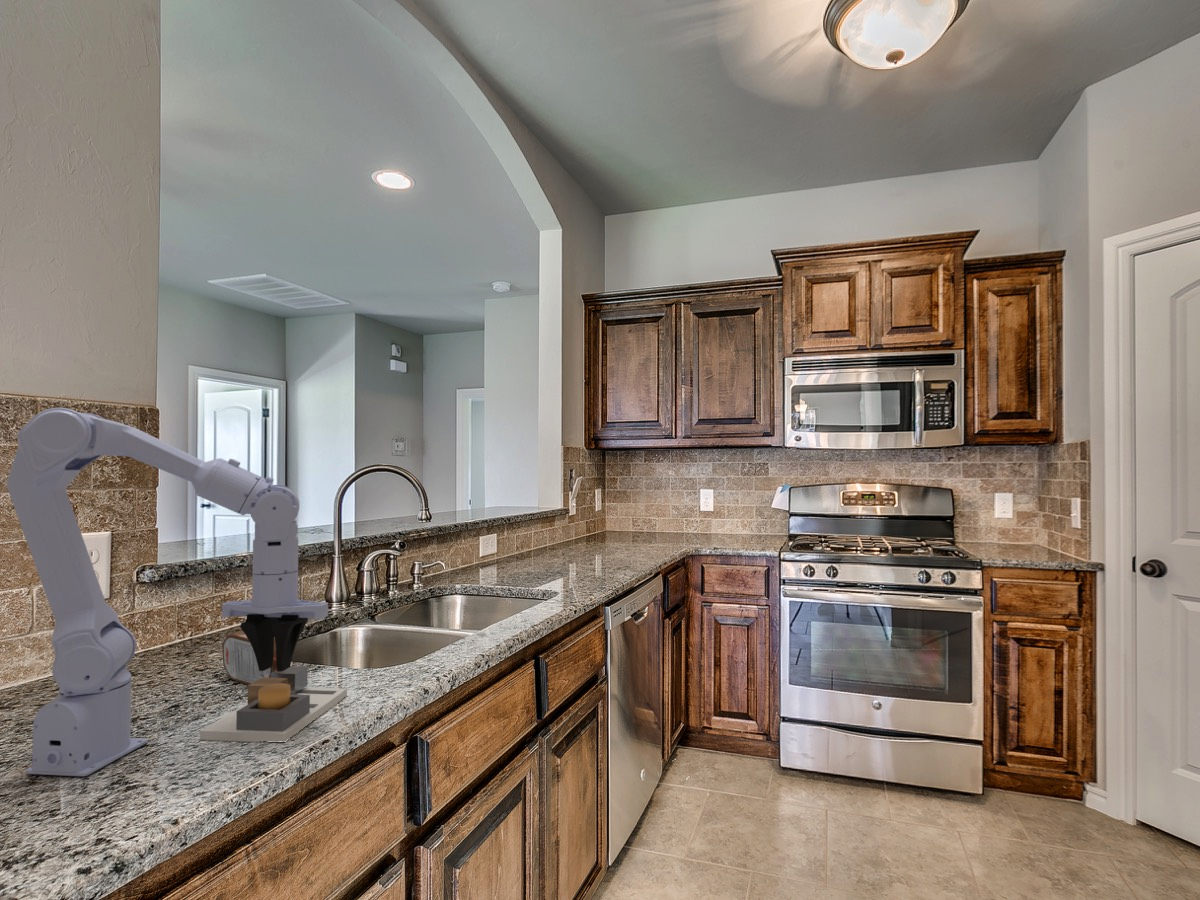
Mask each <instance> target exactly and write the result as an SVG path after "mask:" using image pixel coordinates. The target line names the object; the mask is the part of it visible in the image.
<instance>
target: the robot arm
mask: <svg viewBox="0 0 1200 900" xmlns="http://www.w3.org/2000/svg"><path fill="white" fill-rule="evenodd" d="M16 437H17V438H16V439H17V445H18V446H17V449H16V452H15V455H14V459H13V462H12V465H11V468H10V472H9V474H8V478H7V480H6V486H7V491H8V494H9V497H10V500H11V502H12V503H11V504H13V505H12V506H13V508H14V510H15V512H16V513H15V514H16V516H17V519H18V522H19V524H20V527H21V529H22V530H21V531H22V533H23V536H24V538H25V541H26V544H27V546H28V549H29V552H30V554H31V557H32V560H33V562H34V563H33V564H34V565H35V569H36V571H37V575H38V576H39V580H40V582H41V585H42V587H43V591H44V593H45V597H46V599H47V601H48V604H49V607H50V609H51V613H52V615H53V618H54V620H55V623H54V627H53V632H52V636H51V645H52V648H53V652H54V659H53V663H52V669H51V674H52V678H53V680H54V682H55V683H56V684H57V686H59V688H58V690H59V691H58V694H57V695H56V696H55V697H54V699H53V700H52V701H50V702H48V703H47V704H45V705H43V706H42V707H40V708H39V710H38V711H37V713H36V714H35V716H34V719H33V723H32V753H31V754H32V758H31V759H32V762H31V764H32V765H31V766H30V767H28V768H26V770H25V774H28V775H45V776H46V775H47V776H68V777H86V776H89V775H91V774H93V773H94V772H96V771H98V770H100V769H102V768H103V767H106V766H107V765H109V764H110V763H113V762H115V761H116V760H118V759H119V758H122V757H124V756H126V755H127V754H129V753H131V752H132V751H134V750H137V749H139V748H140V747H142V746H144V745H145V744H147V743H148V741H149V740H148V738H144V737H143V738H142V737H138V738H137V737H131V732H132V731H131V728H132V726H131V723H132V721H131V719H132V718H131V716H132V714H131V713H132V712H131V711H132V674H131V673H130V671H129V670H128V668H127V664H128V663H129V662H130V661H131V660H132V658H133V657H134V655H135V653H136V649H137V640H136V638H135V636H134V633H132V631H130V629H128V628H127V627H125V626H124V625H123V623H122V622H121V620H120V618H119V616H118V613H117V612H116V611H115V610H114V609H113V608H112V607H111V606H110V605H109V604H108V603H107V602H106V599H105V597H104V594H103V591H102V587H101V585H100V582H99V580H98V577H97V574H96V571H95V568H94V565H93V563H92V560H91V557H90V554H89V552H88V548H87V546H86V543H85V539H84V537H83V534H82V532H81V529H80V525H79V524H78V520H77V518H76V515H75V512H74V509H73V507H72V504H71V501H70V498H69V496H68V495H69V494H68V492H67V488H68V487H69V485H70V484H71V483H72V482H73V481H74V479H75V478H76V477H77V476H78V475H79V473H81V471H82V469H84V468H85V467H87V466H88V465H90V464H91V463H93V462H94V461H96V460H98V459H100V458H101V457H102V456H108V457H110V456H113V457H114V456H115V457H116V456H117V457H121V456H122V457H128V458H129V457H130V458H132V459H134V460H137V461H139V462H141V463H144V464H147V465H149V466H151V467H154V468H156V469H157V470H158V469H159V470H160V471H164V472H167V473H168V474H171V475H173V476H176V477H178V478H181V479H182V480H183V479H184V480H186V481H187V482H190V483H191V484H192V486H193V489H194V492H195V494H196V496H197V497H200V498H201V499H204V500H206V501H209V502H212V503H213V504H216V505H218V506H220V507H223V508H225V509H228V510H230V511H232V512H235V513H236V514H239V515H241V516H246V515H250V517H251V519H252V521H253V522H254V539H253V540H252V583H251V584H252V585H251V586H252V589H251V591H252V592H251V593H252V596H251V598H252V599H249V600H247V599H246V600H230V601H227V602H223V603H222V604H221V605H222V606H221V618H231V617H244V618H245V617H246V618H245V621H242V622H241V623H240V629H241V630H242V631H243V632H244V633H245V635H246V636H247V638H248V640H249V641H250V643H251V646H252V648H253V651H254V653H255V657H256V660H257V664H258V667H259V671H265V670H266V669H268V668H270V667H272V665H273V658H274V638H275V643H276V667H277V671H280V672H282V671H284V670H286V669H288V668H289V667H290V666H291V664H292V659H293V655H294V652H295V648H296V646H297V643H298V640H299V638H300V636H301V634H302V632H303V630H304V628H305V626H306V624H307V623H308V621H309V619H314V620H323V619H324V618H327V617H329V602H323V601H321V602H320V601H313V600H305V599H299V537H298V535H297V534H298V531H299V528H298V524H297V523H298V522H297V520H296V518H297V517H298V515H299V511H300V499H299V497H298V496H297V494H296V493H295V492H294V491H293V490H292V489H290V488H289V487H287V486H286V485H285V484H273V482H274V478H273V477H271V476H266V477H265V478H264V477H262V476H260V475H259V474H256V473H254V472H251V471H249V470H247V469H245V468H244V467H243V468H242V467H240V465H241V462H240V461H239V460H237V459H234V458H229V459H228V461H227V460H225V459H224V458H216V459H212V460H208V461H204V460H203V459H199V458H197V457H196V456H194V455H192V454H190V453H188V452H186V451H183V450H181V449H179V448H178V447H175V446H173V445H172V444H169V443H167V442H165V441H163V440H161V439H159V438H158V437H154V436H153V435H151V434H149V433H146V432H145V431H142V430H141V429H138V428H137V427H134V426H131V425H127V424H124V423H121V422H117V421H114V420H111V419H105V418H104V417H102V416H100V415H98V414H95V413H92V412H79V411H76V410H73V409H71V408H66V407H52V408H48V409H44V410H42V411H39V413H37V414H36V415H34V416H33V417H32V418H31V419H30V420H28V422H27V423H26V424H25V425H24V426H23V427H22V428H21V429H20V430H19V431H18V432H17V434H16ZM279 618H280V619H279Z"/></svg>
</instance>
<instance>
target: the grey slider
mask: <svg viewBox="0 0 1200 900" xmlns="http://www.w3.org/2000/svg"><path fill="white" fill-rule="evenodd" d="M271 678H288V684H289V685H290V693H296V692H298V691H299V690H301V689H303V688H304V687H308V666H303V665H302V666H299V665H298V666H296V665H293V666H291V665H290V667H289V668H288V669H286V670H284V671H282V672H280V671H277V670H276V671H274V672H272V673H271Z"/></svg>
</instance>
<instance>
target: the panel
mask: <svg viewBox="0 0 1200 900" xmlns="http://www.w3.org/2000/svg"><path fill="white" fill-rule="evenodd" d="M346 696H348V688H338V687H337V688H336V687H335V688H334V687H333V688H332V687H311V686H310V687H308V686H306V687H304V688H303V689H301V690H299V691H298V692H296V693H290V704H288V705H287V706H285V707H284V708H282V709H281V710H274V709H258V699H256V700H255V701H253V702H251V703H250V704H248V702H246V703H245V704H243V705H241V706H240V707H238V708H237V709H235V710H233V711H231V712H229V713H228V714H226V715H225V716H222V717H221V718H220V719H218V720H216V721H214V722H213V723H210V724H209V725H207V726H206V727H204V728H202V729H201V730H199V741H217V742H218V741H221V742H222V741H223V742H224V741H225V742H247V743H264V742H263V741H277V742H278V741H283V742H284V741H286V740H287V739H289V738H290V737H292V736H293V735H294V734H296V733H297V732H299V731H300V730H301V729H302V728H304V727H305V726H307V725H308V724H309V723H311V722H312V721H313V720H315V719H316V718H317V719H319V718H320V717H321V716H323V715H324V714H325V713H326V711H327V712H328V711H329V710H331V709H332V708H333V707H335V706H336V705H337V704H339V703H340V702H342V699H343V698H344V697H345V698H347V697H346ZM345 698H344V699H345ZM344 699H343V700H344ZM339 701H340V702H339ZM338 702H339V703H338ZM334 705H335V706H334ZM330 708H331V709H330ZM323 713H324V714H323ZM322 714H323V715H322ZM320 715H321V716H320ZM319 716H320V717H319ZM318 717H319V718H318ZM317 719H316V720H317ZM316 720H315V721H316ZM313 722H314V721H313ZM313 722H312V723H313ZM312 723H311V724H312ZM309 725H310V724H309ZM309 725H308V726H309ZM308 726H307V727H308ZM305 728H306V727H305ZM305 728H304V729H305ZM301 731H302V730H301ZM301 731H300V732H301ZM300 732H299V733H300ZM297 734H298V733H297ZM297 734H296V735H297ZM293 737H294V736H293ZM293 737H292V738H293ZM289 740H290V739H289ZM260 741H261V742H260Z"/></svg>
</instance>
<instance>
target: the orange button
mask: <svg viewBox="0 0 1200 900" xmlns="http://www.w3.org/2000/svg"><path fill="white" fill-rule="evenodd" d="M288 704H290V685H289V684H283V683H280V684H272V685H267V686H264V687H262V688H260V689H259V690H258V709H274V710H281V709H282V708H284V707H285V706H287V705H288Z"/></svg>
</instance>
